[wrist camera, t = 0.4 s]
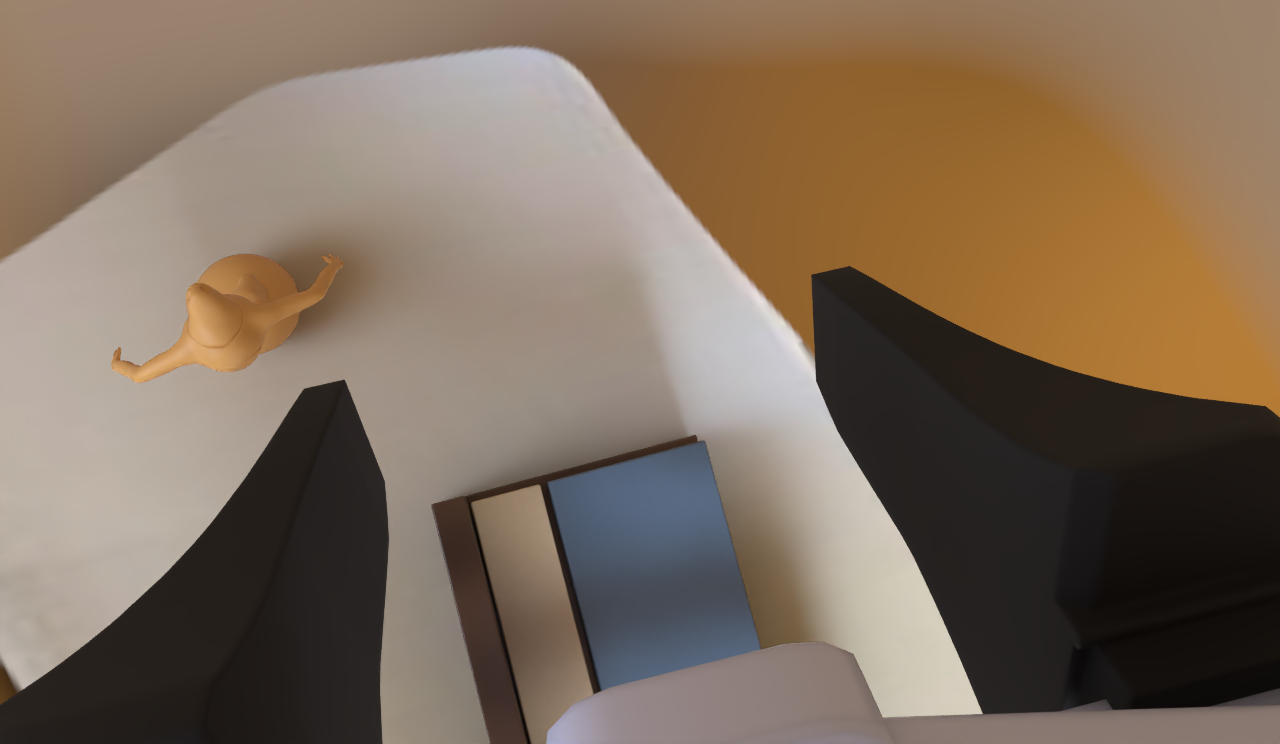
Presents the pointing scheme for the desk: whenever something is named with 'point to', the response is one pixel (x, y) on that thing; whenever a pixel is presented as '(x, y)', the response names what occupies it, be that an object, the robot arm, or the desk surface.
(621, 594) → the bed
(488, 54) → the desk surface
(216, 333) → the figurine
